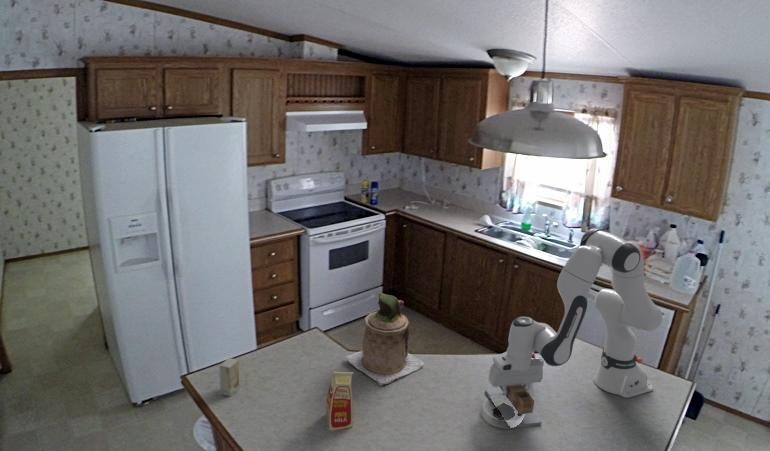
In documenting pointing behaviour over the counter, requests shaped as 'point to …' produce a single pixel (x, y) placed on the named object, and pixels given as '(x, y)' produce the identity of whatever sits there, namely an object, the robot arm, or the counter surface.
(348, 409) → the milk carton
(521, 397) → the walnut strip
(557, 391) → the counter surface
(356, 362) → the cookie jar
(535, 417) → the post board
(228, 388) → the skincare box
